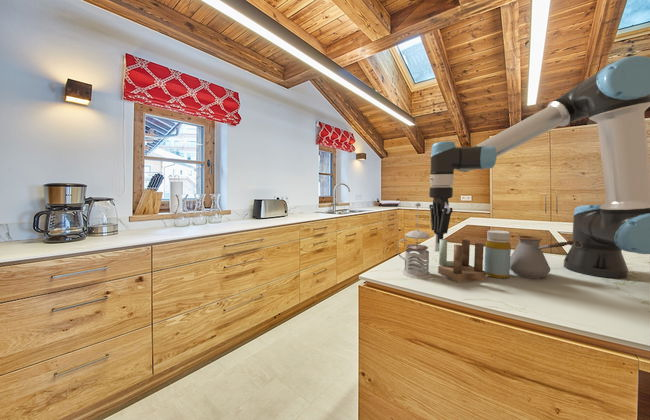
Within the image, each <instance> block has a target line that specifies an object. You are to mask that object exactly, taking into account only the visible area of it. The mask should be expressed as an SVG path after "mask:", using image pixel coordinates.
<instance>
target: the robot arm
mask: <svg viewBox="0 0 650 420" xmlns="http://www.w3.org/2000/svg"><path fill="white" fill-rule="evenodd" d="M649 108H650V57H649V56H645V55H632V56H627V57H623V58H620V59H619V60H617V61H615V62H612V63H609V64H608V65H606V66H604V67H603V68H602V69H601V70H599V71H596V73H594V74H592V75H590V76H589V77H587V78H585V79H584V80H582V81H581V82H579V83H577V84H576V85H574V86H573V87H572V88H570V89H569V90H568V91H566V92H565V93H563V94H562V95H561V96H559V97H557V98H555V99H554V100H552V101H550V102H549V103H548V104H547V107H545V108H543V109H541V110H540V111H537V112H536V113H533V114H532V115H530V116H528V117H526V118H525V119H523V120H521V121H519V122H518V123H516V124H514V125H512V126H510V127H508V128H506V129H504V130H502V131H500V132H498V133H496V134H495V135H493V136H491V137H489V138H486V140H484V141H482V142H480V143H478V144H476V145H475V146H464V147H463V146H462V147H457V145H456V142H455V141H451V140H450V141H446V140H445V141H438V142H435V143H433V144H432V145H431V152H430V153H431V154H430V168H429V169H430V175H429V176H430V177H428V180H429V186H430V188H429V193H428V194H429V198H432V204H429V207H428V208H429V211H430V225H431V230H432V231H433V233H434V236H433V237H434V238H433V239H434V240H433V251H434V252H436V253H437V252H438V253H439V246H440V239H444V235H445V234H446V235H447V234H448V231H449V226H450V220H451V216H452V215H451V214H452V213H453V211H454V210H453V207H450V206H449V205H450V203H449V199H451V198H453V194H454V193H453V192H454V188H453V186H454V180H455V179H454V174H455V170H456V171H459V172H462V173H468V172H470V171H475V170H490V169H493V168H494V167H495V166H496V162H497V157H499V156H502V155H503V154H506V153H507V152H510V151H511V150H513V149H516V148H518V147H520V146H522V145H524V144H526V143H528V142H530V141H532V140H533V139H535V138H537V137H539V136H541V135H544V134H545V133H547V132H549V131H552V130H553V129H555V128H558V127H565V126H568V125H570V124H572V123H574V122H576V121H579V120H582V119H585V118H588V119H589V120H591V121H592V122H595V123H596V124H597V131H598V141H599V148H600V149H599V150H600V157H601V166H602V175H603V183H604V192H605V193H604V194H605V202H604V203H603V204H585V205H578V206H576V207H575V208H574V213H573V219H572V220H573V221H572V238H571V241H575V240H576V241H579V242H581V243H582V247H581V243H579V242H578V243H576V244H575V246H576V247H575V246H574V244H572V245H571V247H570V248H569V250H568V252H567V254H566V256H565V257H564V259H563V267H564V268H565V269H568V270H570V271H573V272H576V273H580V274H583V275H589V276H595V277H601V278H614V279H621V278H623V279H624V278H627V277H628V276H629V268H628V266H627V263H626V261H625V260H626V259H625V257H624V255H623V252H622V251H624V252H628V253H632V254H633V253H635V254H638V255H639V254H641V255H650V156H649V155H650V154H649V146H648V137H647V127H646V118H645V112H646V110H647V109H649ZM577 247H581V248H577Z"/></svg>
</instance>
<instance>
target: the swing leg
mask: <svg viewBox="0 0 650 420" xmlns="http://www.w3.org/2000/svg"><path fill="white" fill-rule="evenodd" d="M438 253H439V254H438V257H439V258H438V264H439V265H438V266H453V263H454V260H447V259H448V258H447V257H448V255H447V254H448V239H446V238H443V239H440V246H439V252H438Z"/></svg>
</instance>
